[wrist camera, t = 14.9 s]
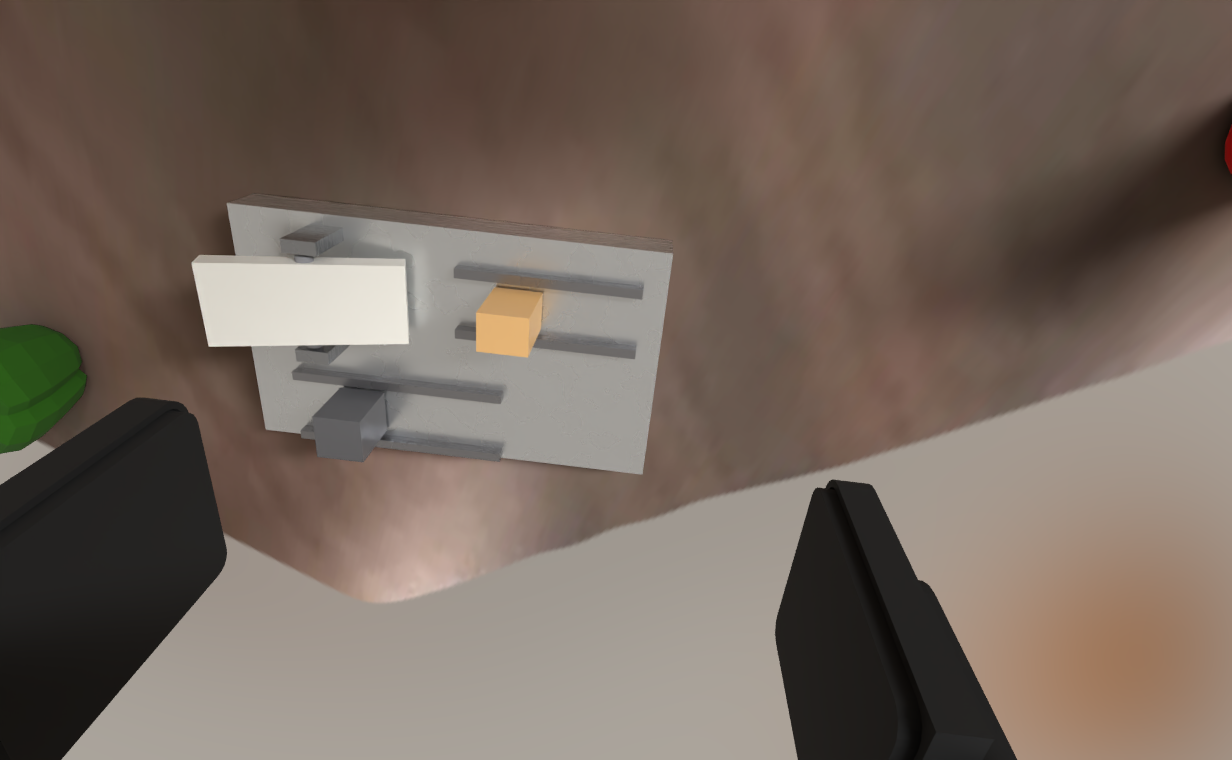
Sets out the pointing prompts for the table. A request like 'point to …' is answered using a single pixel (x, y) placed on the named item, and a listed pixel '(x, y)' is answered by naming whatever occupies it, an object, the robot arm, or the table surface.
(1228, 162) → the beer can
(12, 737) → the robot arm
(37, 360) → the bell pepper
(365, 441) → the fader knob
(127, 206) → the table surface
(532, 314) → the orange block
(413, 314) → the panel
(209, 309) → the plate
